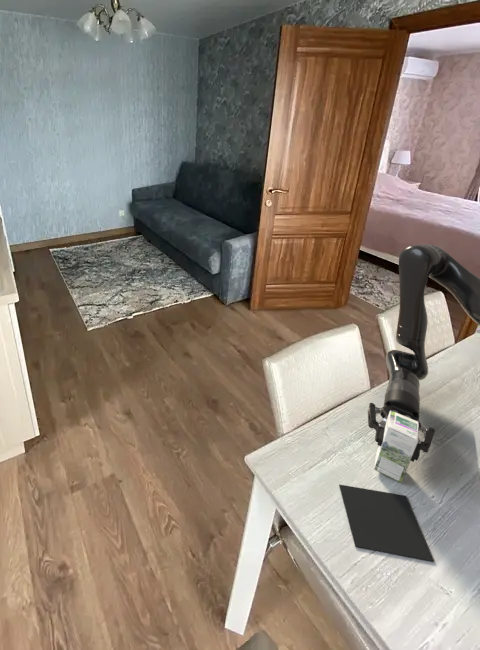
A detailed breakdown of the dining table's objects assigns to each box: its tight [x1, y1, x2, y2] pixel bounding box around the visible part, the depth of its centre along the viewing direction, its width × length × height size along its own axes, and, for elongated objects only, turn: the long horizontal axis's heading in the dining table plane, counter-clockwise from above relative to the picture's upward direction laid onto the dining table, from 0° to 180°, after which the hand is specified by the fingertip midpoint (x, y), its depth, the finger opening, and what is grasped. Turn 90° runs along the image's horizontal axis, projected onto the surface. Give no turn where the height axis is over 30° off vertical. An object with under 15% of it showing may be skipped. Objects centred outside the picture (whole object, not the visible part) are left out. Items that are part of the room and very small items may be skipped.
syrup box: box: [373, 410, 419, 484], centre depth 79 cm, size 6×6×14 cm
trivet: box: [338, 484, 435, 563], centre depth 72 cm, size 14×12×1 cm
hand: (396, 450), depth 77 cm, fingers closed on syrup box, 5 cm apart
